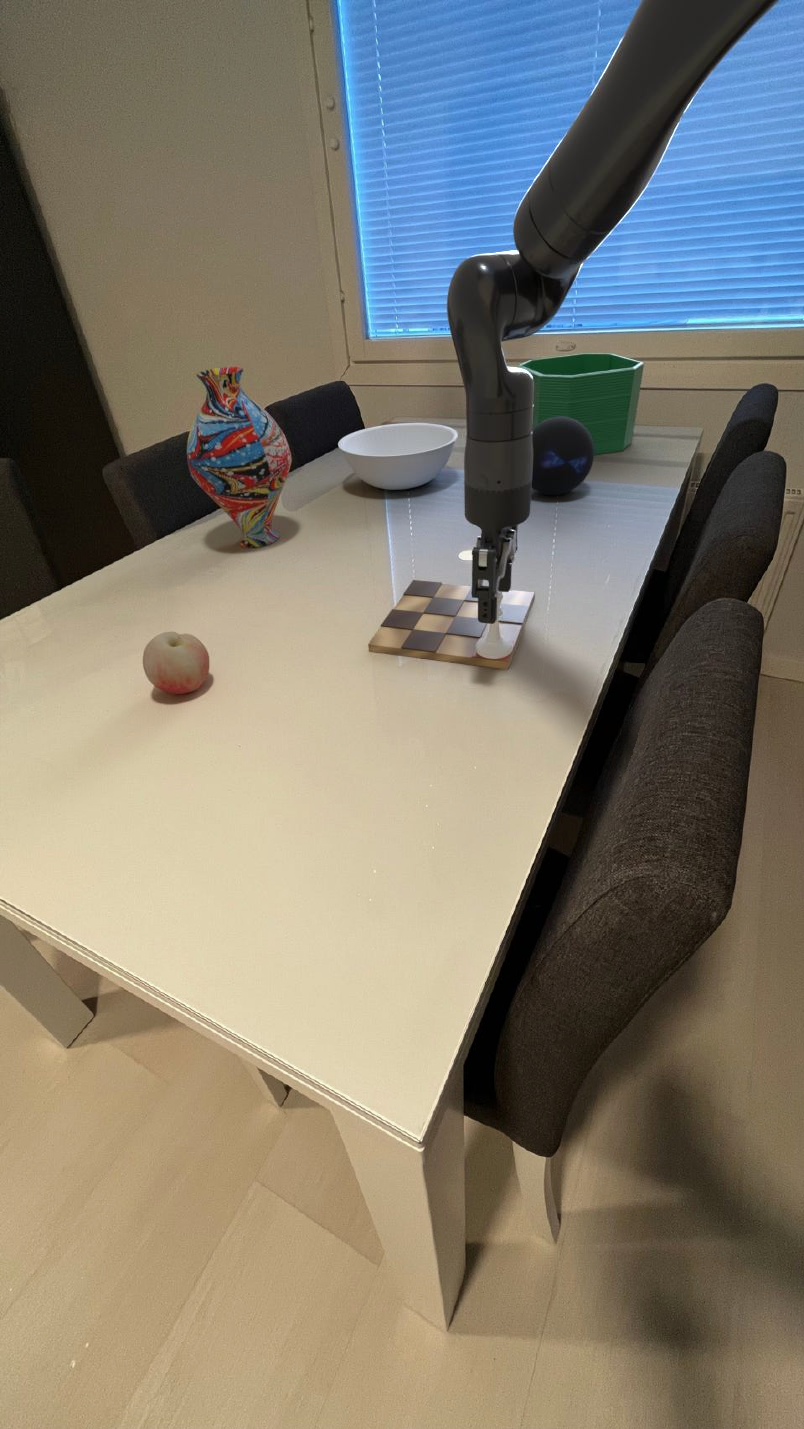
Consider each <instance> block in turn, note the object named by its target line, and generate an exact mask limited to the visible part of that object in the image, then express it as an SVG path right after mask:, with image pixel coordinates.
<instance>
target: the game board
mask: <svg viewBox="0 0 804 1429" xmlns="http://www.w3.org/2000/svg"><path fill="white" fill-rule="evenodd" d="M471 591H472V585H460V584H450V583H449V584H448V583H443V582H442V581H441V582H439V581H430V580H420V579H412V581H411V582H410V583H409V585H408V586H407V588H406V589H405V590H404V592H403V593H402V597H400V599H399V600H398V602H397V603H396V605H395V606H394V607H393V608H392V609H391V610H390V611H389V613H388V614H387V615H386V617H385V619H384V620H383V621H382V622H381V624H380V627H379V628H378V630H377V631H376V633H374V635H373V637H372V638H371V640H369V642H368V644H367V647H368V652H372V653H380V654H388V655H394V656H395V655H396V656H402V657H410V658H416V659H417V658H418V659H425V660H432V661H433V660H434V661H439V662H440V661H441V662H448V663H454V664H462V665H463V664H464V665H470V666H471V665H472V666H477V667H485V668H493V669H501V670H509V668H510V665H511V662H512V661H513V657H514V655H515V653H516V649H517V646H518V644H519V641H520V639H521V636H522V634H523V630H524V629H525V626H526V623H527V620H528V617H529V615H530V612H531V610H532V606H533V604H534V602H535V598H536V597H535V596H536V592H535V591H527V590H526V591H525V590H514V589H510V590H509V592H500V593H502V594H503V599H502V601H501V604H500V607H499V608H501V609H502V610H503V614H502V615H501V616H499V617H498V618H499V629H500V635H501V636H503V637H505V638H507V639H509V640H510V641H511V643H512V652H511V653H510V654H509V655H508V656H506V657H503V658H499V659H489V658H485V657H482V656H480V655H479V654H478V653H477V652H476V643H477V642H478V640H479V639H481V638H483V637H485V636H488V633H489V627H490V624H488V623H480V622H479V621H478V598H472V594H471Z"/></svg>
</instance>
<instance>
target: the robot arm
mask: <svg viewBox="0 0 804 1429" xmlns="http://www.w3.org/2000/svg"><path fill="white" fill-rule="evenodd" d="M778 2H780V0H640V3H639V5H638V7H637V9H636V10H635V13H634V15H633V17H632V19H631V21H630V23H629V24H628V26H627V28H626V30H625V32H624V34H623V36H622V38H621V39H620V41H619V44H618V46H617V47H616V49H615V50H614V52H613V55H612V56H611V59H610V60H609V62H608V64H607V66H606V67H605V69H604V70H603V73H602V75H601V76H600V78H599V80H598V82H597V84H596V85H595V87H594V89H593V90H592V93H590V96H589V97H588V99H587V100H586V101H585V103H584V105H583V107H582V108H581V110H580V112H579V113H578V115H577V116H576V118H574V121H573V122H572V123H571V125H570V126H569V128H568V130H567V131H566V133H565V135H564V136H563V137H562V139H561V140H560V142H559V143H558V145H557V146H556V147H555V149H554V150H553V152H552V154H551V155H550V156H549V158H548V160H547V161H546V163H545V164H544V166H542V169H541V170H540V172H539V173H538V174H537V175H536V177H535V179H534V180H533V182H532V183H531V185H530V187H529V188H528V190H527V191H526V192H525V194H524V196H523V198H522V200H521V201H520V203H519V205H518V208H517V209H516V212H515V216H514V219H513V224H512V226H513V227H512V235H513V242H514V246H515V249H516V250H515V249H514V250H509V251H508V250H507V251H500V252H493V253H492V252H491V253H480V254H475V255H472V256H469V257H467V258H465V259H464V260H463V261H462V262H460V263H459V265H458V266H457V267H456V269H455V271H454V272H453V275H452V278H451V280H450V282H449V286H448V291H447V297H446V314H447V322H448V323H447V324H448V327H449V331H450V332H449V333H450V335H451V340H452V344H453V347H454V351H455V354H456V358H457V363H458V366H459V371H460V375H461V376H460V377H461V380H462V384H463V389H464V393H465V434H466V435H465V446H464V452H463V454H464V455H463V472H464V473H463V478H464V479H463V484H464V485H463V486H464V487H463V489H464V490H463V491H464V494H463V495H464V518H465V520H466V521H467V522H468V523H469V524H470V525H473V526H476V527H478V528H479V529H480V531H481V533H480V536H477V539H476V544H475V546H474V547H473V548H472V549H471V550H472V551H471V562H472V563H471V586H472V591H471V594H472V598H478V621H479V622H480V623H488V624H494V623H495V621H496V619H497V594H498V592H509V590H511V589H512V569H513V564H514V561H515V554H516V553H517V551H518V547H519V546H518V529H519V528H518V526H519V525H521V524H523V523H524V522H525V521H527V520H528V519H529V517H530V515H531V505H532V504H531V503H532V489H533V488H532V470H533V442H532V427H533V409H534V380H533V377H532V375H531V374H530V373H529V372H528V371H526V370H525V369H522V368H517V366H508V365H507V362H506V358H505V355H504V351H503V346H502V342H508V341H514V340H518V339H524V338H528V337H530V336H533V335H534V334H537V333H538V332H539V331H541V330H542V329H544V327H546V326H547V325H548V324H549V323H550V322H551V321H552V319H554V317H555V316H556V315H557V314H558V312H559V310H560V309H561V307H562V305H563V303H564V302H565V300H566V297H567V296H568V294H569V292H570V290H571V288H572V287H573V285H574V283H575V282H576V280H577V278H578V275H579V273H580V270H581V268H582V266H583V264H584V263H586V261H587V260H588V259H589V258H590V257H591V256H592V255H593V254H594V252H596V250H597V249H598V248H599V247H600V245H602V243H604V241H605V240H606V239H607V238H608V237H609V235H610V234H611V233H612V232H613V231H614V230H615V228H616V227H617V226H618V225H619V224H620V223H621V221H623V220H624V218H625V217H626V216H627V214H629V212H630V211H631V209H632V208H633V207H634V206H635V204H636V203H637V201H638V200H639V199H640V197H641V196H642V195H643V193H644V192H645V190H646V189H647V187H648V185H649V183H650V182H651V180H652V178H653V177H654V175H655V173H656V171H657V169H658V168H659V165H661V164H660V163H661V162H662V159H663V158H664V155H665V153H666V151H667V149H668V147H669V145H670V143H671V141H672V138H673V136H674V134H675V132H676V129H677V128H678V126H679V124H680V122H681V119H682V118H683V116H684V114H685V113H686V111H687V109H688V108H689V106H690V105H691V103H692V101H693V100H694V98H695V97H696V96H697V93H698V92H699V90H700V89H701V88H702V86H703V85H704V84H705V82H707V80H708V78H709V77H710V76H711V74H712V73H713V72H714V71H715V69H716V68H717V67H718V66H719V64H720V63H721V62H722V61H723V60H724V58H725V57H726V56H727V55H728V54H729V52H730V51H731V50H732V49H733V48H734V47H735V46H736V45H737V43H738V42H739V41H740V40H741V39H743V37H744V36H745V35H747V33H748V32H749V31H750V30H752V28H753V27H754V26H756V24H757V23H758V22H759V21H760V20H761V19H762V18H764V16H765V15H766V14H768V12H769V11H770V10H772V8H774V6H775V5H777V3H778ZM484 581H486V582H488V585H483V584H484Z"/></svg>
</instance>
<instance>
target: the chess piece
mask: <svg viewBox="0 0 804 1429" xmlns="http://www.w3.org/2000/svg"><path fill="white" fill-rule="evenodd" d="M502 599H503V594H502V593H500V592H498V594H497V619H496V621H495V623H494V624H490V627H489V633H488V636H485V637H483V638H481V639H479V640H478V642H477V643H476V652H477V653H478V654H479V655H480V656H482V657H485V658H489V659H499V658H503V657H506V656H508V655H509V654H510V653H511V652H512V643H511V641H510V640H509V639H507V638H505V637H503V636H501V635H500V629H499V618H498V617H499V616H501V615H502V614H503V610H502V609H501V608H499V607H500V604H501V601H502Z"/></svg>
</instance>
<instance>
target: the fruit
mask: <svg viewBox="0 0 804 1429" xmlns="http://www.w3.org/2000/svg"><path fill="white" fill-rule="evenodd" d="M142 654H143V655H142V668H143V671H144V674H145V676H146V678H147V679H148V680H147V681H149V682H150V684H152V685H153V686H154V687H155V688H157V689H158V690H160V691H162V692H164V693H167V694H172V695H173V694H174V695H183V694H188V693H192V692H194V691H196V690H198V689H199V688H201V686H202V685H203V684H204V683H205V681H206V679H207V677H208V675H209V671H210V665H211V664H210V655H209V651H208V650H207V647H206V645H205V644H204V643H203V642H202V641H201V640H200V639H199V638H198V637H197V636H194V635H193V634H190V633H179V632H175V631H165V632H162V633H159V634H157V635H156V636H154V637H153V638H152V639H150V640H149V641H148V643H147V644H146V646H145V647H144V650H143V653H142Z"/></svg>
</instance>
